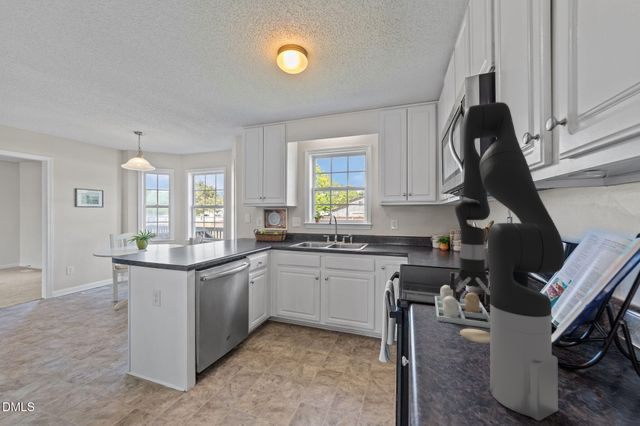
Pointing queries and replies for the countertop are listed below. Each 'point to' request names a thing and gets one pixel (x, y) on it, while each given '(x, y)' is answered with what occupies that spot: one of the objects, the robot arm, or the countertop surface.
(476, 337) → the birch coaster
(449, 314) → the cream egg
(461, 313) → the egg carton
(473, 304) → the brown egg
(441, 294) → the cream egg
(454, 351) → the countertop surface
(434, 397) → the countertop surface
